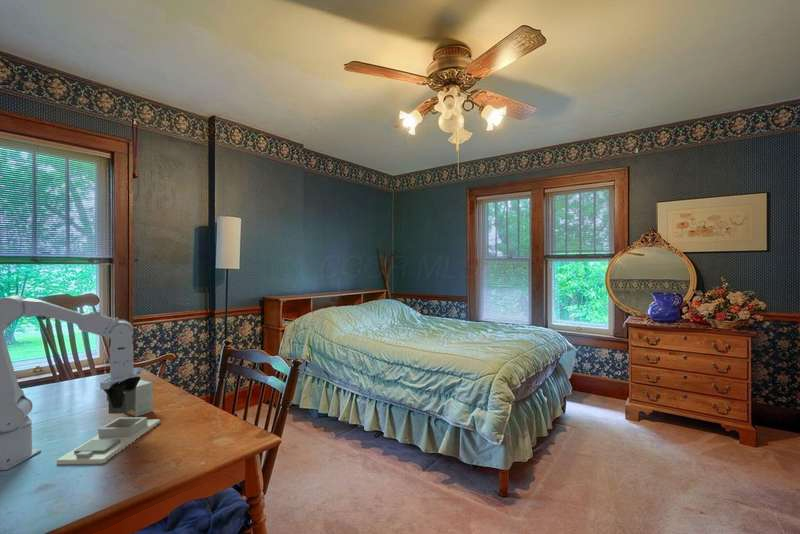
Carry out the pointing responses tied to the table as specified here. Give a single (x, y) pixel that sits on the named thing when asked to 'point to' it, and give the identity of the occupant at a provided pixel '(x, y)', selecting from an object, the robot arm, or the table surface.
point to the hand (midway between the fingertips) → (122, 404)
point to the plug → (124, 402)
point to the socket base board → (109, 440)
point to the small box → (143, 398)
